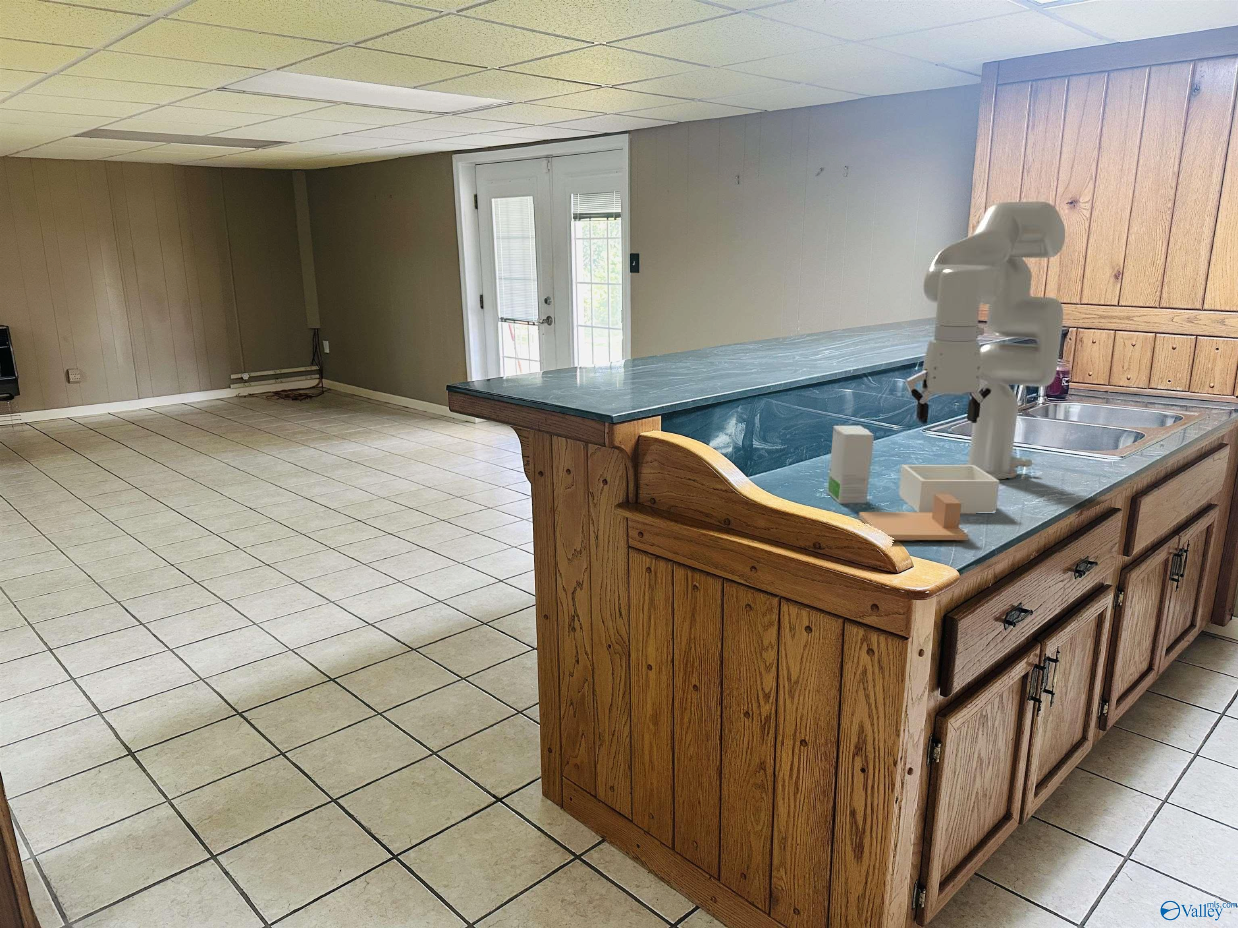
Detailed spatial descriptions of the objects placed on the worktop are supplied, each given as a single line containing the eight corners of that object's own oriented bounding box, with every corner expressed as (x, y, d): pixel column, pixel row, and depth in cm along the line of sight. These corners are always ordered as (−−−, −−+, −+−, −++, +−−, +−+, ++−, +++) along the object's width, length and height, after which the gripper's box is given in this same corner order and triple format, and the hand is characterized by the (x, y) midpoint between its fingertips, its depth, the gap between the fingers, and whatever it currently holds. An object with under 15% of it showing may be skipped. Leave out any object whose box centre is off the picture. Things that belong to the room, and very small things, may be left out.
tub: (970, 495, 190) (974, 465, 189) (995, 513, 178) (999, 481, 176) (898, 495, 190) (901, 464, 189) (918, 513, 178) (921, 480, 176)
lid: (940, 521, 173) (944, 488, 172) (967, 544, 160) (971, 509, 159) (858, 521, 173) (861, 488, 172) (878, 544, 160) (881, 508, 159)
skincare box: (827, 493, 192) (831, 425, 188) (855, 492, 192) (860, 424, 188) (839, 504, 184) (844, 433, 180) (869, 503, 184) (875, 433, 180)
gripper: (992, 331, 167) (983, 417, 172) (903, 332, 167) (896, 418, 172) (1009, 336, 160) (999, 425, 164) (916, 337, 160) (909, 427, 164)
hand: (947, 421), depth 168 cm, fingers open, 9 cm apart
